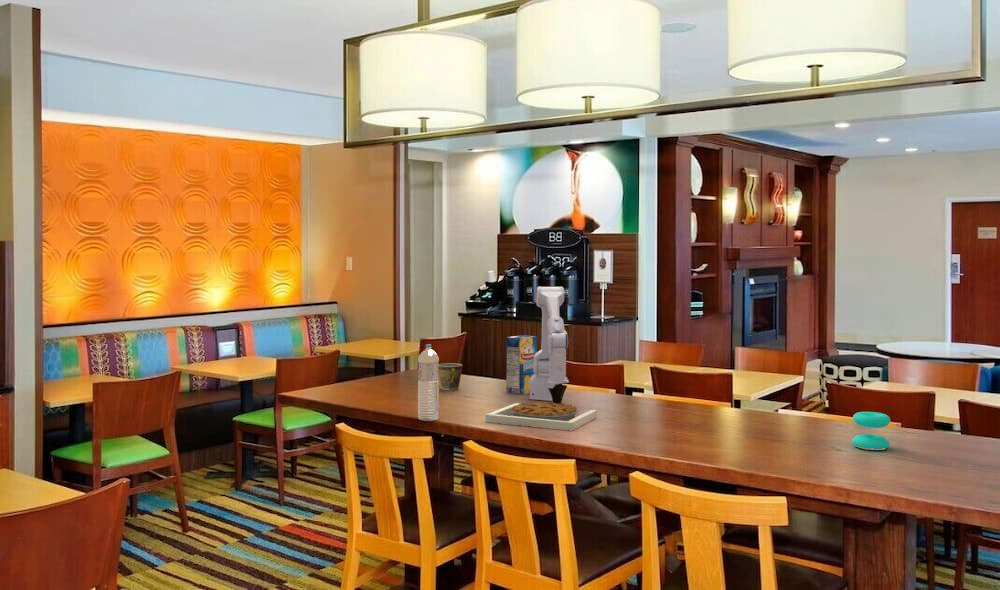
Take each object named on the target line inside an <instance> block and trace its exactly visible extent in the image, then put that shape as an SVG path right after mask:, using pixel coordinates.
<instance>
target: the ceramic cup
mask: <svg viewBox="0 0 1000 590" xmlns="http://www.w3.org/2000/svg"><path fill="white" fill-rule="evenodd" d="M462 372H463V364H461V363H456V362H455V363H453V362H452V363H451V362H450V363H448V362H446V363H438V378H439V382H440V388H441V390H442V391H444V390H448V391H447V392H451V391H452V390H455V391H458V390H459V389H460V388H459V387H460V382H461V376H462Z"/></svg>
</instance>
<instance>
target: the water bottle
mask: <svg viewBox="0 0 1000 590" xmlns="http://www.w3.org/2000/svg"><path fill="white" fill-rule="evenodd" d="M439 360H440V357H439V356H438V354H437V353H436V352H435V350H433V349H432V344H430V343H429V344H427V343H426V344H425V349H423V351H421V353H420V354H419V355H418V358H417V362H418V366H417V367H418V371H417V372H418V374H417V375H418V379H417V380H418V381H417V385H418V386H417V418H418V420H420V421H422V422H435V421H437V420H438V419H439V413H440V412H439V406H440V405H439V404H440V403H439V399H440V398H439V393H440V392H439V388H440V387H439V382H440V380H439V372H438V364H439Z"/></svg>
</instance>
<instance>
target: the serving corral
mask: <svg viewBox="0 0 1000 590" xmlns="http://www.w3.org/2000/svg"><path fill="white" fill-rule="evenodd" d="M521 403H522V402H521ZM521 403H520V402H519V403H518V402H515V403H513V404H511V405H507V406H505V407H502V408H499V409H496V410H494V411H492V412H489V413H485V423H488V422H492V423H491V424H498V423H501V424H500V425H508V424H510V425H511V426H518V425H521V426H520V427H528V426H531V428H538V427H542V428H541V429H548V428H549V429H550V430H560V431H568V430H569V431H571V432H572V431H574V430H576V429H578V428H579V427H581V426H584V425H585V424H587V423H589V422H592V421H593V420H594V419H597V417H598V410H597V409H590V410H588V411H585V412H584V413H582V414H579V415H578V416H576V417H574V418H573V419H571V420H569V421H560V420H549V419H539V418H528V417H518V416H514V414H513V412H512V411H511V410H512V407H514V406H515V405H517V406H518V404H521ZM508 415H509V416H508ZM510 425H509V426H510Z"/></svg>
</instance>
